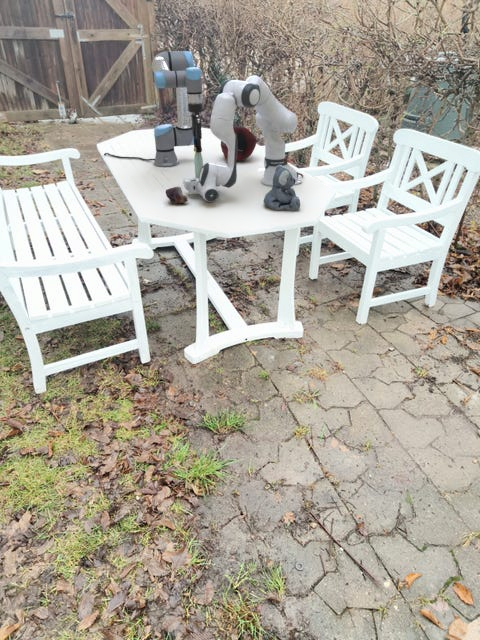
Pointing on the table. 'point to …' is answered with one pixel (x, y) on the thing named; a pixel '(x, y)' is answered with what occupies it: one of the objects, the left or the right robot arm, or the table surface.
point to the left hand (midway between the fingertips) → (197, 150)
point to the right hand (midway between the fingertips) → (199, 178)
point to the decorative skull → (241, 143)
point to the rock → (176, 195)
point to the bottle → (198, 163)
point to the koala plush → (282, 191)
